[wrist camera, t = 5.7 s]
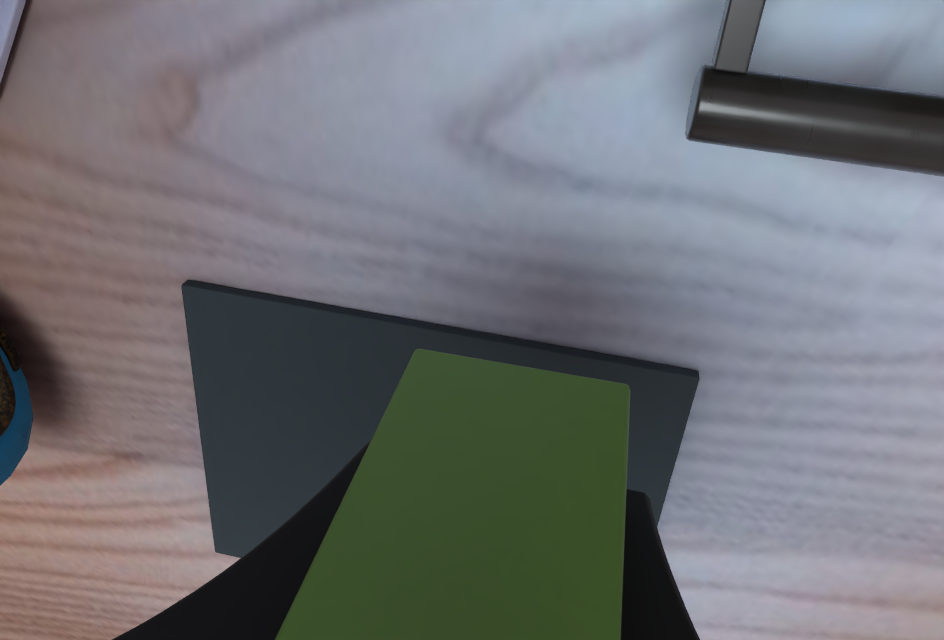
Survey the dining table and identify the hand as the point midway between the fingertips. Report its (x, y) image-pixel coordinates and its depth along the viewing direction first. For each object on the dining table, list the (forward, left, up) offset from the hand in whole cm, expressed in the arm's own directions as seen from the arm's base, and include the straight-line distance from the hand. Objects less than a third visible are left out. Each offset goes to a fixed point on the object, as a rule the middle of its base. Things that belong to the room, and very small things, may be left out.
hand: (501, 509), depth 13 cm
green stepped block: (0, 0, -1) cm, 1 cm away
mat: (-9, -1, -10) cm, 14 cm away
